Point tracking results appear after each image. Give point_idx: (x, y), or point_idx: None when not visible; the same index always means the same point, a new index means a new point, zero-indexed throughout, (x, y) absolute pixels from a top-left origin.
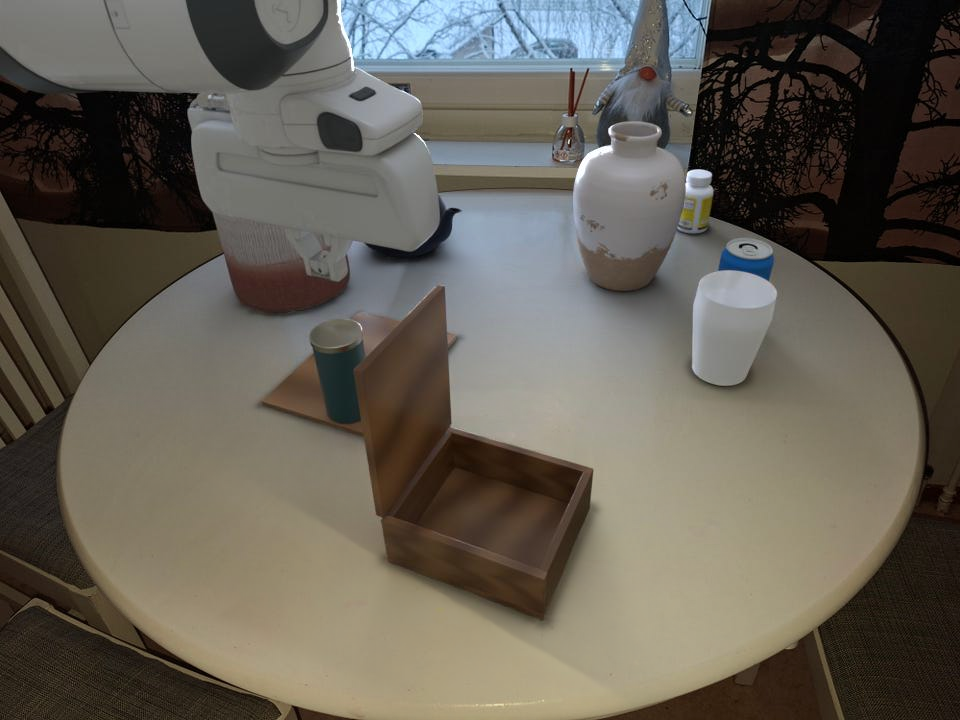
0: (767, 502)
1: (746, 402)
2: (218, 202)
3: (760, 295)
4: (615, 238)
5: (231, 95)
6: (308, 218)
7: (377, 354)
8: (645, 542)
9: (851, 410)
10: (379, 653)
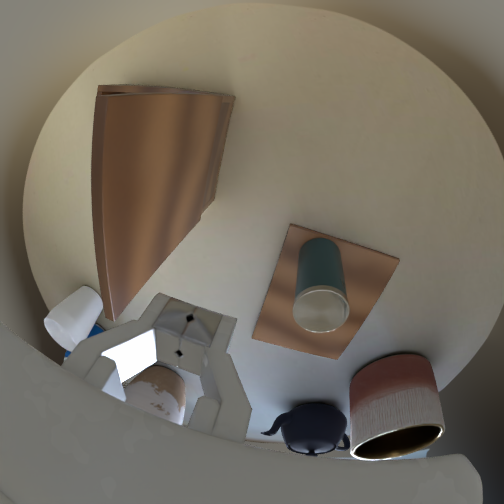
0: (52, 202)
1: (74, 273)
2: (447, 489)
3: (61, 333)
4: (146, 395)
5: None
6: (81, 434)
7: (93, 146)
8: (87, 158)
9: (44, 268)
10: (217, 29)
